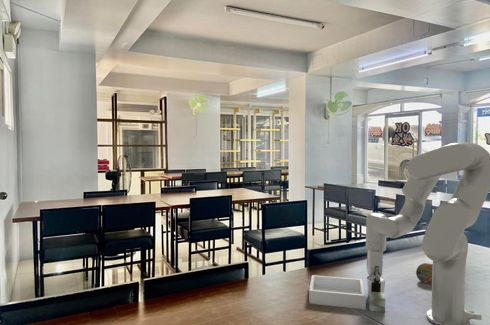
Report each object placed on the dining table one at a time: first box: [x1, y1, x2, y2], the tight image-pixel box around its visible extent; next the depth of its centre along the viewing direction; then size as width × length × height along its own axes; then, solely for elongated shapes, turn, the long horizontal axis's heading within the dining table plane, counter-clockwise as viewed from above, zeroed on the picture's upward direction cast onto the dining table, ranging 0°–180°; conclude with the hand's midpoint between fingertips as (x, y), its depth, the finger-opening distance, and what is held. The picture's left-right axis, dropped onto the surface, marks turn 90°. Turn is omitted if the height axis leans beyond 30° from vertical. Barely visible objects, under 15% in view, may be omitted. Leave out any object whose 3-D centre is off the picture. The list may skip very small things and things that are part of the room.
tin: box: [415, 262, 433, 285], centre depth 147 cm, size 15×3×8 cm, turn 62°
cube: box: [368, 291, 386, 313], centre depth 125 cm, size 5×5×5 cm
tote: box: [308, 274, 367, 310], centre depth 135 cm, size 20×16×5 cm
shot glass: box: [366, 275, 386, 296], centre depth 136 cm, size 7×7×7 cm
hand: (374, 287), depth 136 cm, fingers open, 9 cm apart
